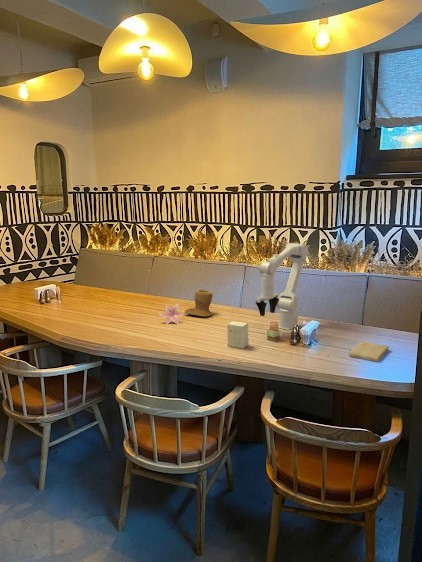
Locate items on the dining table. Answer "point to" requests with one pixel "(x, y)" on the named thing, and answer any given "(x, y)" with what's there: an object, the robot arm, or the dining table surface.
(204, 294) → the brown boot
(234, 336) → the small box
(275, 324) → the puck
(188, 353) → the dining table surface
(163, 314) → the lily
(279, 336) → the tower base
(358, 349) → the washcloth
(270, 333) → the tower top
